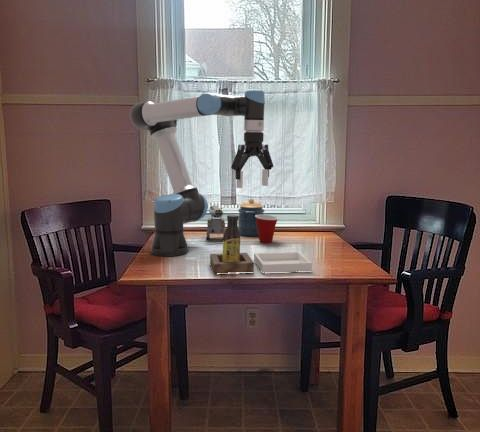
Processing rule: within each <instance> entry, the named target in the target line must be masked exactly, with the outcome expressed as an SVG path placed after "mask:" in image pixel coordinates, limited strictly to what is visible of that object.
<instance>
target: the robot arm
mask: <svg viewBox="0 0 480 432" xmlns="http://www.w3.org/2000/svg"><path fill="white" fill-rule="evenodd" d="M265 99H266V98H265V92H264V90H261V89H246V90H245V91H244V95H228V94H220V93H214V92H204V93H202V94H201V95H196V96H190V97H185V98H184V97H183V98H178V99H173V100H172V99H171V100H166V101H160V102H153V101H143V102H141V101H140V102H137V103H135V104H134V105H133V106H132V107H131V109H130V111H129V119H130V122H131V124H132V125H133V127H135V128H137V129H138V130H141V131H149V134H150V137H151V139H153V140H155V141H156V144H157V147H158V149H159V153H160V157H161V158H162V161H163V164H164V167H165V170H166V174H167V176H168V179H169V181H170V185H171V188H172V190H173V192H172V193H170V194H163V195H159V196H158V197H156V198H155V199H154V202H153V203H154V205H153V217H154V219H153V220H154V236H153V237H152V238H153V239H152V243H151V245H150V253H151V254H152V255H154V256H158V257H176V256H177V257H178V256H181V255H185V254H187V253H188V252H189V248H188V247H189V246H188V243H187V240H186V237H185V234H184V225H185V224H189V223H193V222H194V223H195V222H197V221H199V220H201V219H203V218H204V217H205V216H206V214H207V212H208V211H209V207H208V206H209V205H208V203H209V202H208V200H207V198H206V197H205V196H204V195H203V194H201V193H199V190H198V187H196V186H195V185H193V183H192V180H191V177H190V174H189V172H188V168H187V166H186V162H185V160H184V156H183V154H182V151H181V148H180V145H179V142H178V140H177V136H176V133H177V126H178V122H179V120H184V119H191V118H198V117H205V116H214V115H215V116H216V115H218V116H225V117H238V116H242V117H244V121H243V122H244V123H243V124H244V125H243V130H244V131H245V132H244V133H243V142H244V144H243V143H242V144H241V143H239V144H238V146H237V151H236V154H235V156H234V159H233V162H232V164H231V167H230V168H231V170H233V171H235V176H234V177H235V180H236V184H235V185H236V188H237V189H243V187H244V185H243V183H244V182H243V179H244V176H243V175H244V170H243V168H244V167H245V165H246V163H247V162H248V160H249V159H250V158H251V157H256V158H257V159H258V161H259V162H260V164H261V165H262V167H263V168H262V169H261V170H262V173H261V185H262V186H263V187H264V186H265V187H268V186H269V178H270V170H272V169H273V168H274V163H273V159H272V157H271V153H270V151H269V144H267V143H264V144H263V142H264V135H265V134H264V132H263V131H264V130H265V129H264V128H265V104H266V101H265Z"/></svg>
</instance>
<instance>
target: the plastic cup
mask: <svg viewBox="0 0 480 432" xmlns="http://www.w3.org/2000/svg"><path fill="white" fill-rule="evenodd" d="M255 217H256V222H257V228H258V235H259V236H258V241H259V242H260V243H262V244H270V243H273V239H274V236H275V229H276V226H277V222H278V220H279V217H278V216H276V215H270V214H263V215H255Z"/></svg>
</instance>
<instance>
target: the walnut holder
mask: <svg viewBox="0 0 480 432" xmlns="http://www.w3.org/2000/svg"><path fill="white" fill-rule="evenodd" d="M222 259H223V252H222V253H210V254H209V265H210V264H211V265H210V267H212V268H211V270H212V269H213V271H212V273H213V272H214V274H217V273H228V272H254V271H255V268H254V266H255V265H254V264H255V263H254V260H252V258H251V257H250V255H249V254H248V252H240V260H239V262H222ZM254 273H255V272H254ZM214 274H213V275H214Z"/></svg>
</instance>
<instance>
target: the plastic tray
mask: <svg viewBox="0 0 480 432" xmlns="http://www.w3.org/2000/svg"><path fill="white" fill-rule="evenodd" d="M253 262H255V263H256V264H257V266H258V267H259V268H260V270H261V271H262V272H264V273H265V272H296V271H297V272H298V271H312V272H313V262H312V261H310V259H308V258H307V257H306V256H305V255H304V254H303V253H302V252H300V251H281V252H279V251H277V252H276V251H275V252H273V251H272V252H254V253H253ZM255 263H254V264H255ZM256 264H255V265H256ZM257 266H256V267H257ZM258 267H257V268H258ZM259 268H258V269H259ZM260 270H259V271H260ZM261 271H260V272H261Z"/></svg>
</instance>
